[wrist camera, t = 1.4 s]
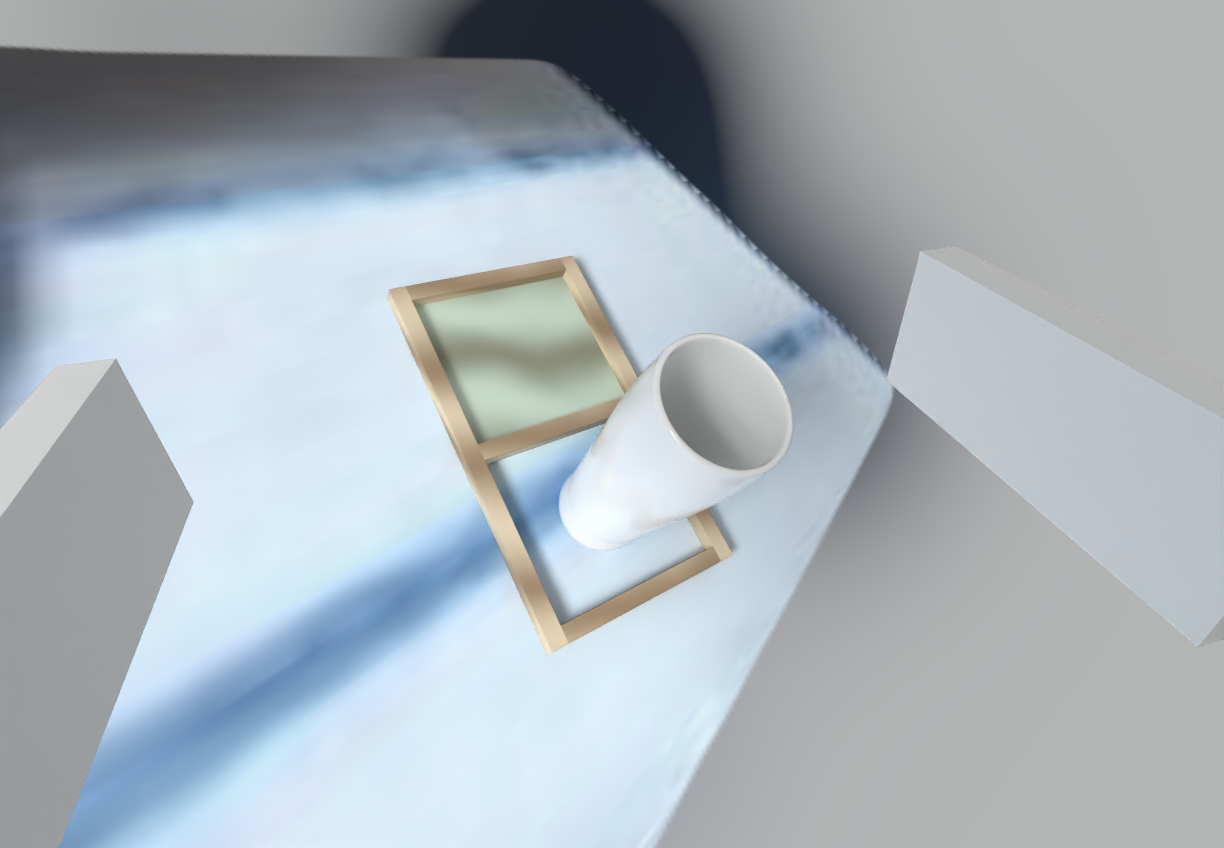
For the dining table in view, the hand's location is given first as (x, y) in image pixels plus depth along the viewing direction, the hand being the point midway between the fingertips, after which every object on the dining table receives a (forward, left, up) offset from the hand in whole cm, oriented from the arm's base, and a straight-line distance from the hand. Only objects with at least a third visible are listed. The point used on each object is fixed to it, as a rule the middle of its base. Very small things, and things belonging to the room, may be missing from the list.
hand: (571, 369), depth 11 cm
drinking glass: (-1, +12, -26) cm, 29 cm away
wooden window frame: (-7, +12, -26) cm, 29 cm away
